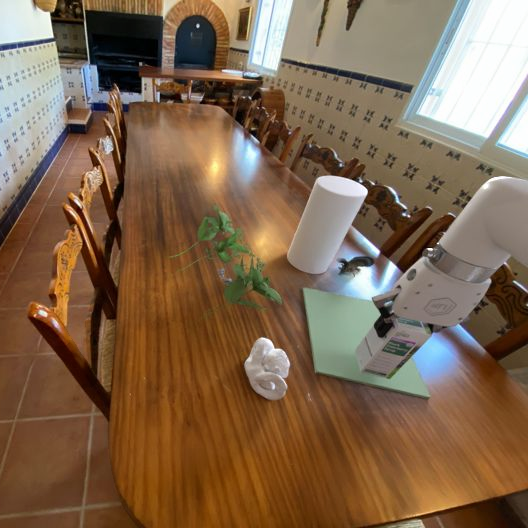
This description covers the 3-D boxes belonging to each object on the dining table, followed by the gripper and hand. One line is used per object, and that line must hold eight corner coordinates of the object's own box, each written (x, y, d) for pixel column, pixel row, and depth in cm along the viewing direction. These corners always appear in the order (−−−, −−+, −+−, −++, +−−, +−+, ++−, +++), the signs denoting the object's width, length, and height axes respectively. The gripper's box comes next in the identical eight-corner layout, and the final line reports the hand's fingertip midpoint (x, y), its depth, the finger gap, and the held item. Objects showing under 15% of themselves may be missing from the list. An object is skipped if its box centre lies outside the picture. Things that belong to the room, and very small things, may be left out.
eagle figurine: (357, 284, 83) (378, 270, 86) (352, 261, 81) (373, 248, 84) (333, 279, 90) (353, 267, 93) (328, 258, 89) (349, 246, 91)
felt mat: (386, 305, 79) (388, 303, 78) (428, 399, 59) (430, 397, 59) (302, 289, 82) (303, 287, 81) (315, 373, 62) (316, 371, 61)
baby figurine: (252, 342, 67) (284, 328, 62) (275, 397, 62) (311, 387, 57) (229, 346, 61) (262, 331, 56) (252, 408, 56) (291, 397, 51)
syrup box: (359, 372, 60) (398, 327, 51) (353, 349, 65) (388, 303, 56) (389, 380, 59) (434, 335, 50) (381, 355, 64) (421, 310, 55)
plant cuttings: (216, 367, 69) (304, 321, 64) (177, 337, 58) (279, 279, 53) (183, 269, 95) (243, 231, 90) (152, 236, 84) (218, 191, 79)
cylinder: (291, 244, 98) (320, 171, 82) (331, 257, 94) (369, 183, 78) (282, 263, 90) (312, 187, 74) (325, 279, 86) (366, 201, 70)
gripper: (408, 266, 43) (352, 341, 54) (543, 290, 41) (455, 363, 52) (391, 237, 48) (344, 311, 60) (508, 257, 46) (436, 330, 58)
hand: (396, 335), depth 56 cm, fingers closed on syrup box, 5 cm apart
